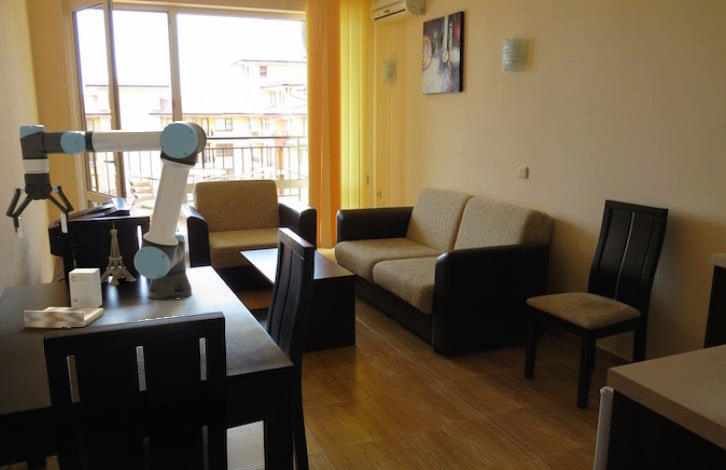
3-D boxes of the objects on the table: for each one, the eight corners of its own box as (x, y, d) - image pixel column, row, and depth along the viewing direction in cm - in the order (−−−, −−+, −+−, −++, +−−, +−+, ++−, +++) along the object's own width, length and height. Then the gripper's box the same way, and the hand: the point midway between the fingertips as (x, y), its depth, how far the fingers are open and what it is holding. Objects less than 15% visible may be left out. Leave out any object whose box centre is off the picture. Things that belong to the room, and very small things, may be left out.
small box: (102, 304, 201) (100, 268, 199) (96, 309, 195) (93, 272, 192) (78, 304, 200) (75, 268, 198) (71, 310, 194) (68, 272, 192)
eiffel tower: (136, 280, 234) (133, 219, 229) (113, 285, 225) (109, 223, 220) (120, 276, 239) (116, 217, 235) (97, 281, 230) (92, 220, 226)
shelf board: (103, 313, 190) (102, 299, 190) (82, 328, 176) (81, 312, 176) (50, 312, 191) (48, 298, 190) (24, 327, 177) (23, 311, 176)
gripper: (72, 169, 203) (78, 228, 207) (-10, 173, 186) (-2, 238, 189) (79, 170, 197) (85, 231, 201) (-4, 174, 180) (4, 241, 184)
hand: (43, 234), depth 195 cm, fingers open, 13 cm apart
